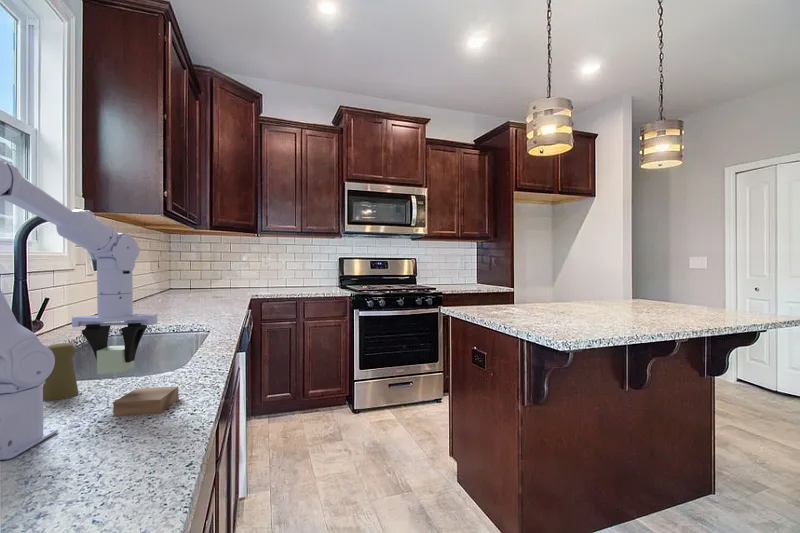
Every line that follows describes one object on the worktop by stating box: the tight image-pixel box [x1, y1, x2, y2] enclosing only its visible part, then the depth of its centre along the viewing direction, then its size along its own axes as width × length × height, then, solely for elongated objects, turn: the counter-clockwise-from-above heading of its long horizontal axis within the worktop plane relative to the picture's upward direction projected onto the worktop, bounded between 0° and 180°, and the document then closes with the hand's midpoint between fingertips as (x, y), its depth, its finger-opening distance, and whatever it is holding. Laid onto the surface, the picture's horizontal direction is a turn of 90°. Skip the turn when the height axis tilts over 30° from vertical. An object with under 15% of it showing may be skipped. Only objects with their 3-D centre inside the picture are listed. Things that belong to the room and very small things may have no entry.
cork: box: [43, 342, 79, 402], centre depth 83 cm, size 6×6×11 cm
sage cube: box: [96, 345, 136, 375], centre depth 78 cm, size 4×4×4 cm
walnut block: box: [112, 386, 179, 417], centre depth 76 cm, size 8×8×3 cm
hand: (116, 361), depth 78 cm, fingers closed on sage cube, 4 cm apart
